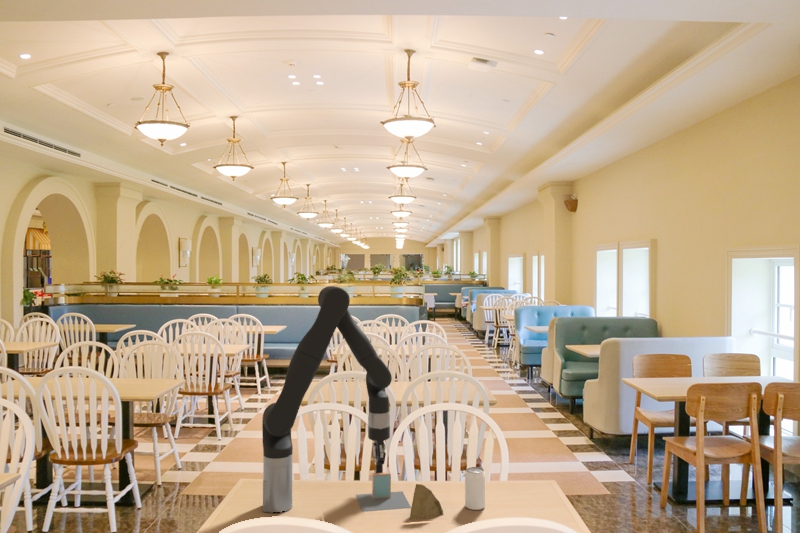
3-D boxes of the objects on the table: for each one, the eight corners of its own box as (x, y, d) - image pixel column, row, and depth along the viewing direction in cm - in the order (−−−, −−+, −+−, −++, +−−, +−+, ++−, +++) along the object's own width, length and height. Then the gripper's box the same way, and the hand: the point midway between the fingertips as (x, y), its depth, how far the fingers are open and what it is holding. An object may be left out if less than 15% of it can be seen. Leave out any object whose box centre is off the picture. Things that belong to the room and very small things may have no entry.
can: (469, 511, 187) (469, 474, 187) (462, 503, 193) (462, 467, 193) (488, 509, 189) (488, 472, 189) (480, 501, 195) (480, 465, 195)
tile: (372, 499, 195) (373, 475, 195) (372, 497, 197) (372, 473, 197) (390, 497, 197) (390, 474, 197) (389, 496, 198) (389, 472, 198)
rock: (446, 503, 188) (416, 496, 190) (447, 488, 183) (416, 481, 185) (439, 535, 180) (408, 527, 182) (440, 520, 175) (407, 512, 177)
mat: (361, 513, 185) (361, 511, 185) (356, 496, 199) (356, 494, 199) (411, 509, 189) (411, 507, 189) (402, 493, 202) (402, 491, 202)
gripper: (365, 420, 209) (365, 468, 209) (371, 430, 196) (371, 482, 196) (386, 418, 210) (386, 467, 210) (393, 429, 197) (393, 480, 197)
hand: (379, 474), depth 203 cm, fingers closed
